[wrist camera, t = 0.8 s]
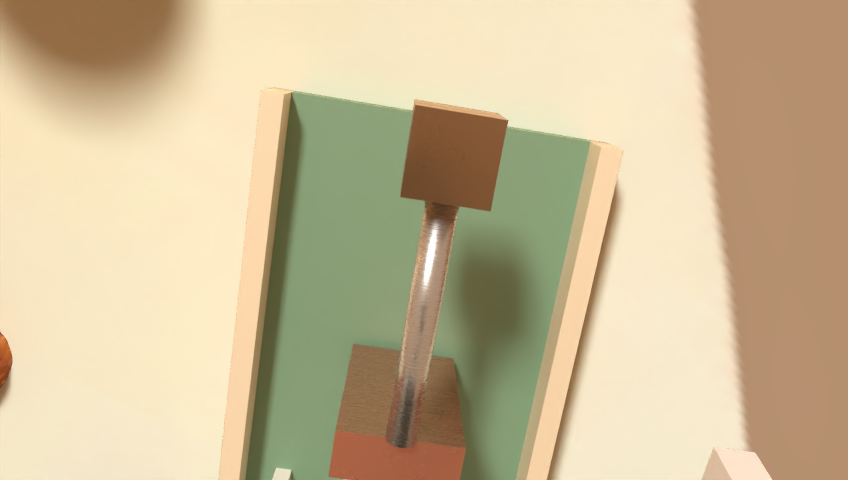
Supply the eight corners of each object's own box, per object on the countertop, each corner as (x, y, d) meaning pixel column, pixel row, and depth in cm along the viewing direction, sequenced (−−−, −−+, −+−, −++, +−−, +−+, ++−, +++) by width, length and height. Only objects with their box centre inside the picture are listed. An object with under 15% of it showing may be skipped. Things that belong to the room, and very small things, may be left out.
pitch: (506, 581, 41) (519, 652, 36) (222, 544, 40) (195, 611, 35) (605, 143, 35) (637, 156, 30) (273, 87, 34) (250, 92, 29)
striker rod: (446, 394, 36) (458, 518, 26) (347, 380, 36) (323, 500, 26) (501, 105, 33) (538, 125, 23) (392, 86, 32) (383, 99, 23)
